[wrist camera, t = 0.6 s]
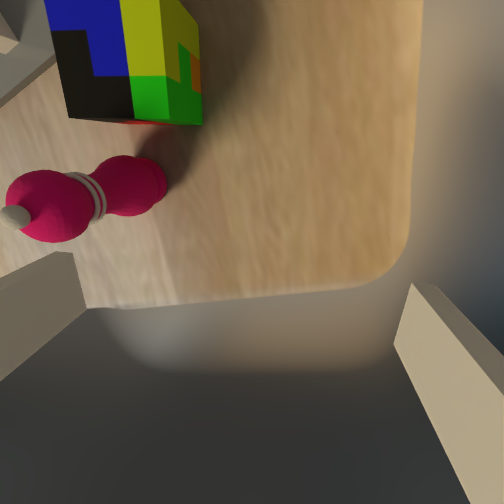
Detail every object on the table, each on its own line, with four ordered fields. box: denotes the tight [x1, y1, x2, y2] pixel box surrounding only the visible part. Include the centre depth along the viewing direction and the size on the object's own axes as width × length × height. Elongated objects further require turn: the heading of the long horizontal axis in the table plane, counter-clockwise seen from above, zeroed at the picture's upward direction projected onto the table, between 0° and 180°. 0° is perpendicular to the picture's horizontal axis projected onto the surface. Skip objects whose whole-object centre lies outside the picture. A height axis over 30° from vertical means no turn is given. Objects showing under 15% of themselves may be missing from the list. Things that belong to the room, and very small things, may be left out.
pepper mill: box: [0, 155, 167, 243], centre depth 28 cm, size 7×7×20 cm
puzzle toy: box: [44, 0, 203, 125], centre depth 28 cm, size 10×10×10 cm
